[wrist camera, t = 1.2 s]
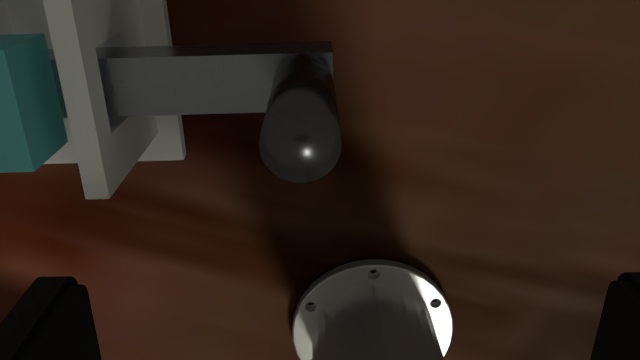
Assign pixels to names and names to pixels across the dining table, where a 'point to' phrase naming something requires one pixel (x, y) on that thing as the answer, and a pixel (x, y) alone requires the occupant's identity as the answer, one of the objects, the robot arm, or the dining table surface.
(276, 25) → the dining table surface
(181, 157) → the bearing block
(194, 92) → the shaft
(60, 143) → the block
